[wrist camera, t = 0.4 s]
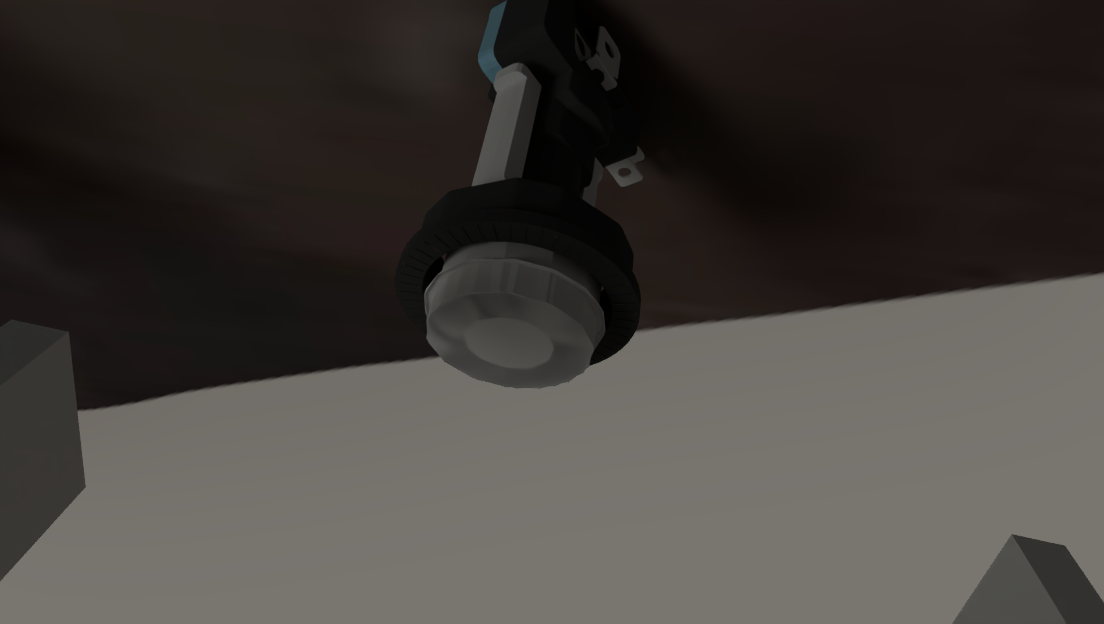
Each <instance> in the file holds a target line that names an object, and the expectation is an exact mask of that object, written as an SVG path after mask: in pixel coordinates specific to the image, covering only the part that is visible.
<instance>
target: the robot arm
mask: <svg viewBox="0 0 1104 624" xmlns="http://www.w3.org/2000/svg"><path fill="white" fill-rule="evenodd" d="M85 487H86V486H85V478H84V468H83V460H82V451H81V441H80V432H79V423H78V414H77V405H76V395H75V386H74V377H73V368H72V359H71V350H70V341H69V332H66V331H61V330H57V329H52V328H47V327H43V326H38V325H33V324H29V323H24V322H19V321H15V320H10V321H9V322H8V323H6V324H5V325H3V326H2V327H0V581H1V580H2V579H3V578H4V576H5V575H6V574H7V573H8V572H9V571H10V570H11V569H12V568H13V566H14V565H15V564H16V563H17V562H18V561H19V560H20V559H21V558H22V557H23V555H24V554H25V553H26V552H27V551H28V550H29V549H30V548H31V547H32V545H33V544H34V543H35V542H36V541H37V540H38V538H40V537H41V536H42V534H43V533H44V532H45V531H46V530H47V529H48V528H49V527H50V526H51V524H52V523H53V522H54V521H55V520H56V519H57V518H58V517H59V516H60V514H62V512H63V511H64V510H65V509H66V508H67V507H68V506H69V504H71V502H72V501H73V500H74V499H75V498H76V497H77V496H78V495H79V494H80V492H81V491H82V490H83V489H84V488H85ZM953 624H1104V603H1103V601H1102V599H1101V598H1100V596H1099V595H1098V593H1097V592H1096V591H1095V589H1094V588H1093V586H1092V585H1091V583H1090V582H1089V580H1088V579H1087V578H1086V576H1085V575H1084V573H1083V571H1082V570H1081V569H1080V567H1079V566H1078V564H1077V563H1076V561H1075V560H1074V558H1073V557H1072V556H1071V554H1070V552H1069V551H1068V550H1067V548H1066V547H1065V546H1064V545H1059V544H1054V543H1049V542H1045V541H1040V540H1036V539H1031V538H1026V537H1022V536H1017V535H1011V537H1010V538H1009V539H1008V541H1007V542H1006V544H1005V545H1004V547H1003V548H1002V550H1001V551H1000V553H999V554H998V556H997V558H996V559H995V560H994V562H993V563H992V565H991V566H990V568H989V569H988V571H987V573H986V574H985V575H984V577H983V578H982V580H981V581H980V583H979V584H978V586H977V588H976V589H975V591H974V592H973V593H972V595H971V596H970V598H969V599H968V601H967V602H966V604H965V606H964V607H963V608H962V610H961V611H960V613H959V614H958V616H957V617H956V619H955V621H954V622H953Z"/></svg>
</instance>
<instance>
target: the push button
mask: <svg viewBox="0 0 1104 624" xmlns="http://www.w3.org/2000/svg"><path fill="white" fill-rule="evenodd" d="M575 11H576V3H575V0H506V1H505V2H503V3H501V4H499V5H497V6H496V7H494V8H493V9H492V10H491V12H490V15H489V21H488V24H487V28H486V31H485V34H484V37H483V41H482V44H481V47H480V50H479V54H478V61H479V64H480V67H481V69H482V70H483V72H484V73H485V75H486V76H487V77H488V78H489V79H490V81H491V82H492V84H491V86H490V90H489V93H488V99H489V100H490V101H491V103H492V104H493V105H494V106H493V109H492V113H491V117H490V121H489V124H488V128H487V132H486V135H485V139H484V143H483V147H482V150H481V154H480V158H479V161H478V165H477V169H476V172H475V176H474V180H473V184H472V186H471V187H466V188H461V189H456V190H452V191H450V192H448V193H447V194H446V195H445V196H444V197H443V198H442V199H440V200H439V201H438V202H437V203H436V204H435V205H434V206H433V207H432V208H431V209H430V210H429V211H428V212H427V213H426V215H425V219H424V222H423V225H422V228H421V230H419V231H418V232H417V233H416V234H415V235H414V236H413V237H412V238H411V239H410V241H409V242H408V243H407V244H406V246H405V248H404V250H403V252H402V255H401V258H400V261H399V264H398V267H397V270H396V277H395V287H396V292H397V296H398V299H399V301H400V304H401V305H402V307H403V309H404V311H405V312H406V314H407V315H408V317H409V318H410V319H411V320H412V321H413V322H414V324H415V325H416V326H417V327H418V328H419V329H420V330H422V331H423V332H424V333H425V334H426V335H427V339H428V342H429V343H430V345H431V346H432V347H433V348H434V349H435V351H436V352H437V353H438V354H439V355H440V357H441V358H442V359H443V360H444V362H446V363H448V364H450V365H451V366H453V367H455V368H456V369H458V370H460V371H462V372H463V373H465V374H467V375H469V376H470V377H472V378H475V379H477V380H481V381H486V382H490V383H493V384H497V385H501V386H504V387H514V388H543V387H548V386H556V385H558V384H561V383H564V382H569V381H570V380H572V379H573V378H575V377H576V376H577V375H580V374H581V373H583V372H584V371H585V369H586V368H588V367H589V366H590V365H593V364H596V363H599V362H601V361H603V360H605V359H607V358H609V357H611V356H612V355H614V354H615V353H617V352H618V351H619V350H621V349H622V348H623V347H624V346H625V345H626V344H627V343H628V342H629V341H630V339H631V338H632V336H633V335H634V333H635V331H636V329H637V326H638V323H639V316H640V305H641V296H640V289H639V285H638V282H637V280H636V277H635V275H634V274H633V272H632V268H633V257H634V255H633V251H632V249H631V247H630V245H629V243H628V240H627V238H626V236H625V234H624V231H623V229H622V227H621V226H620V225H619V224H618V223H617V222H615V221H614V220H613V219H611V218H610V217H608V216H607V215H605V214H604V213H602V212H601V211H599V210H598V209H596V208H595V201H596V194H597V186H598V182H600V181H601V179H602V174H603V168H604V167H606V168H607V169H608V170H609V172H610V173H611V174H612V176H613V177H614V178H615V180H616V181H617V182H618V184H619V185H620V186H623V187H625V186H627V185H630V184H633V183H635V182H638V181H641V180H642V178H643V175H642V174H641V172H640V171H639V170H638V168H637V167H636V165H635V164H634V163H636V162H639V161H641V160H644V157H645V155H644V154H643V152H642V151H641V149H640V148H639V146H638V136H639V121H638V118H637V116H636V114H635V112H634V111H633V109H632V108H631V106H630V103H629V100H628V98H627V96H626V94H625V93H624V92H623V90H622V89H621V87H620V86H619V84H618V83H617V81H616V80H615V79H618V73H619V66H620V58H621V56H620V53H619V49H618V47H617V46H616V44H615V43H614V41H613V39H612V38H611V36H610V35H609V33H608V32H607V30H606V29H605V27H603V26H600V27H598V33H597V39H596V45H595V48H594V47H593V45H592V44H591V43H590V41H589V40H588V38H587V37H586V35H585V34H584V32H583V31H582V29H581V28H580V26H579V25H578V23H577V22H576V20H575ZM605 42H606V43H607V44H608V46H609V48H610V50H611V53H612V58H611V57H610V56H609V54H608V53H607V50H606V47H605ZM620 168H629V169H630V170H631V174H630V175H628V176H623V175H620V174H619V172H618V170H619V169H620ZM445 253H447V255H446V259H445V262H444V261H443V259H442V257H441V256H442V255H444V254H445ZM601 286H603V287H604V289H603V290H602V291H601Z"/></svg>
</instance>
